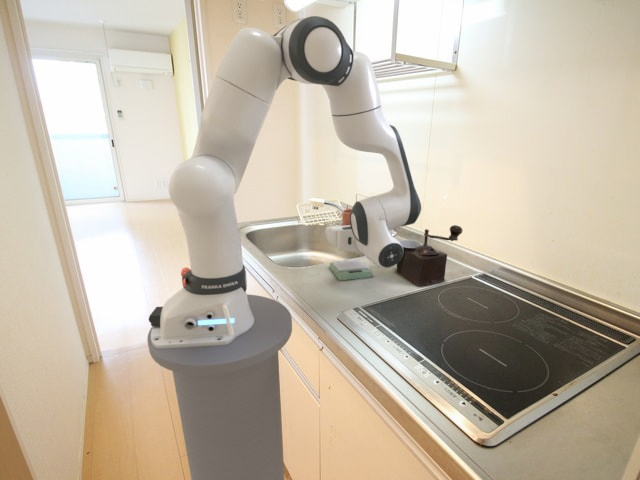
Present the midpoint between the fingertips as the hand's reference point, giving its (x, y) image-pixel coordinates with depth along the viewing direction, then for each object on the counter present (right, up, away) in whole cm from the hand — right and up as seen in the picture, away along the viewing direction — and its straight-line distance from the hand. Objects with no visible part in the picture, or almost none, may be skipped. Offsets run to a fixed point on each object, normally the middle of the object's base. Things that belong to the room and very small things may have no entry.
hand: (351, 226), depth 116 cm
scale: (0, -15, +5) cm, 16 cm away
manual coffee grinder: (+26, -17, +3) cm, 31 cm away
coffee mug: (+20, -15, +7) cm, 26 cm away
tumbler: (0, -6, +1) cm, 6 cm away
